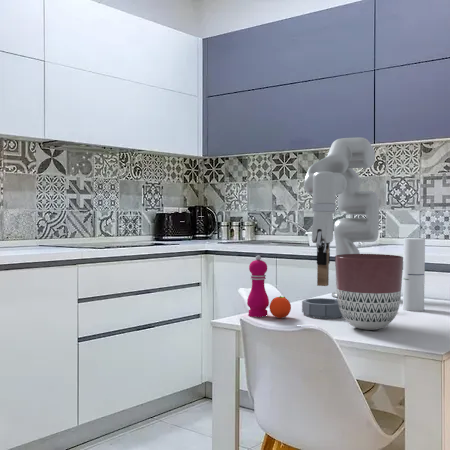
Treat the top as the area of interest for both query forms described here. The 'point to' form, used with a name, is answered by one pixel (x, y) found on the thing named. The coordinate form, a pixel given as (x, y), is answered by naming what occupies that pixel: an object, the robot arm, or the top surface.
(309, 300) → the grey faceted bowl
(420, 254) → the cylindrical container
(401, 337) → the top surface
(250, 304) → the pepper mill
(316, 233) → the robot arm
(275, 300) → the clementine
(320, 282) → the brown wooden block
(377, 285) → the planter
